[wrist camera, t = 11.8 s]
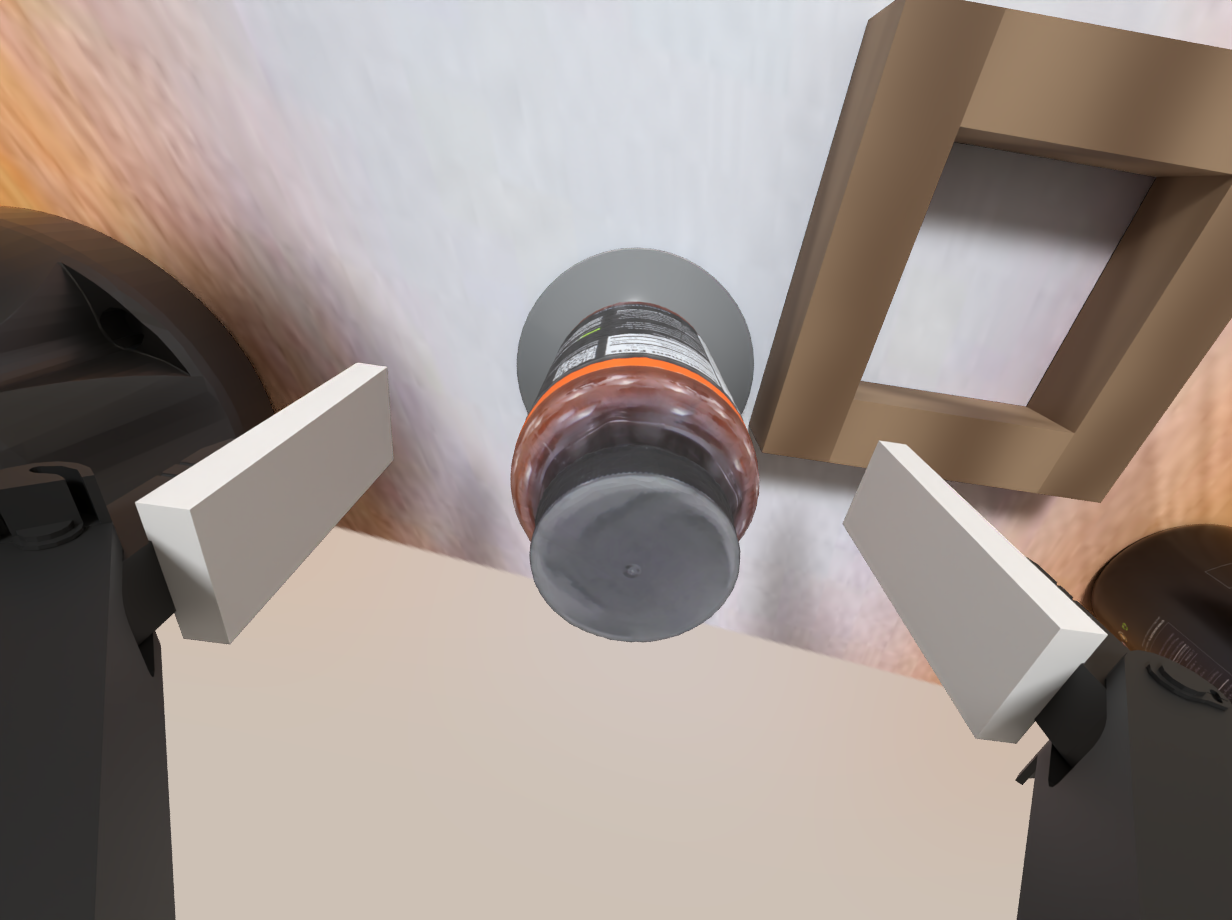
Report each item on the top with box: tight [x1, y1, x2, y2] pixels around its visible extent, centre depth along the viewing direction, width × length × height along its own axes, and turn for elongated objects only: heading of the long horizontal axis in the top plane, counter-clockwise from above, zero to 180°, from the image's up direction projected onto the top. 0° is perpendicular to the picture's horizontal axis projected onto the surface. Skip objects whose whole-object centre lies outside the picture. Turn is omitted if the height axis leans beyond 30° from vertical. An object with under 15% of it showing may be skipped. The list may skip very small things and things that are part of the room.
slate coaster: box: [517, 248, 754, 415], centre depth 20 cm, size 9×9×1 cm
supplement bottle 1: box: [511, 301, 759, 642], centre depth 14 cm, size 6×6×11 cm
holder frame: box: [749, 0, 1232, 503], centre depth 17 cm, size 13×13×2 cm
